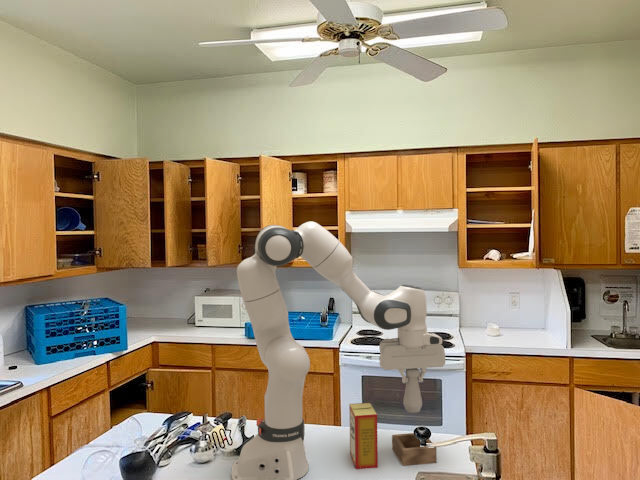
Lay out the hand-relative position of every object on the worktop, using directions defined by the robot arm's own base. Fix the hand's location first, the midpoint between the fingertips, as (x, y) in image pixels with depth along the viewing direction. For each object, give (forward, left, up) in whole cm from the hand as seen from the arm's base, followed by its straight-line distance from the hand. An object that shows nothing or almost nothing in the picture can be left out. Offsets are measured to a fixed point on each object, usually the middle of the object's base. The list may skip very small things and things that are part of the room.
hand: (412, 382), depth 137 cm
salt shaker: (0, 0, -9) cm, 9 cm away
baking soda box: (-16, 0, -23) cm, 28 cm away
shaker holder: (0, 0, -23) cm, 23 cm away
